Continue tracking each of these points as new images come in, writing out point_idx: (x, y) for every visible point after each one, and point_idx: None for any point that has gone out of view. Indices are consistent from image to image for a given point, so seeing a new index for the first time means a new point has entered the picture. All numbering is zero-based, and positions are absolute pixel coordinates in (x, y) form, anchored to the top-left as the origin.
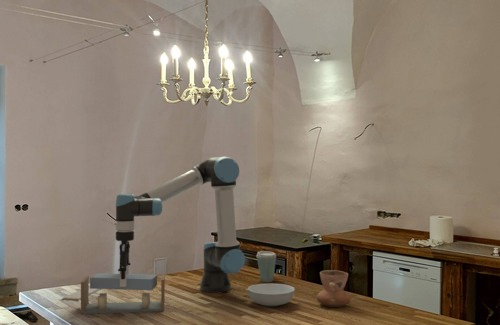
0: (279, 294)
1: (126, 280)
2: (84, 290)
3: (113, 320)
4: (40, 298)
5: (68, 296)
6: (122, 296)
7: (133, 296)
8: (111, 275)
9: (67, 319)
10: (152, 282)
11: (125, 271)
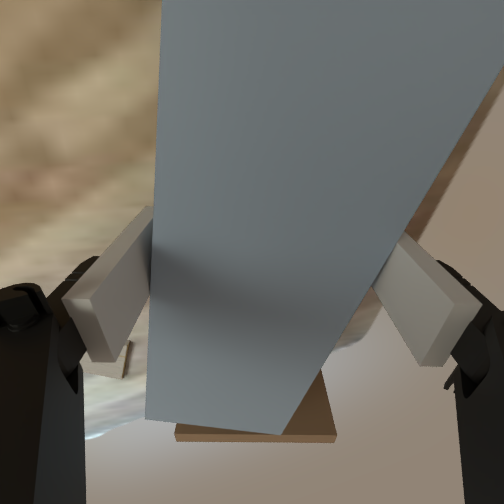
0: None
1: (402, 234)
2: (310, 386)
3: (437, 205)
4: (118, 412)
5: (101, 371)
6: (25, 200)
7: (5, 140)
8: (222, 356)
9: (353, 339)
10: None
11: (471, 310)
